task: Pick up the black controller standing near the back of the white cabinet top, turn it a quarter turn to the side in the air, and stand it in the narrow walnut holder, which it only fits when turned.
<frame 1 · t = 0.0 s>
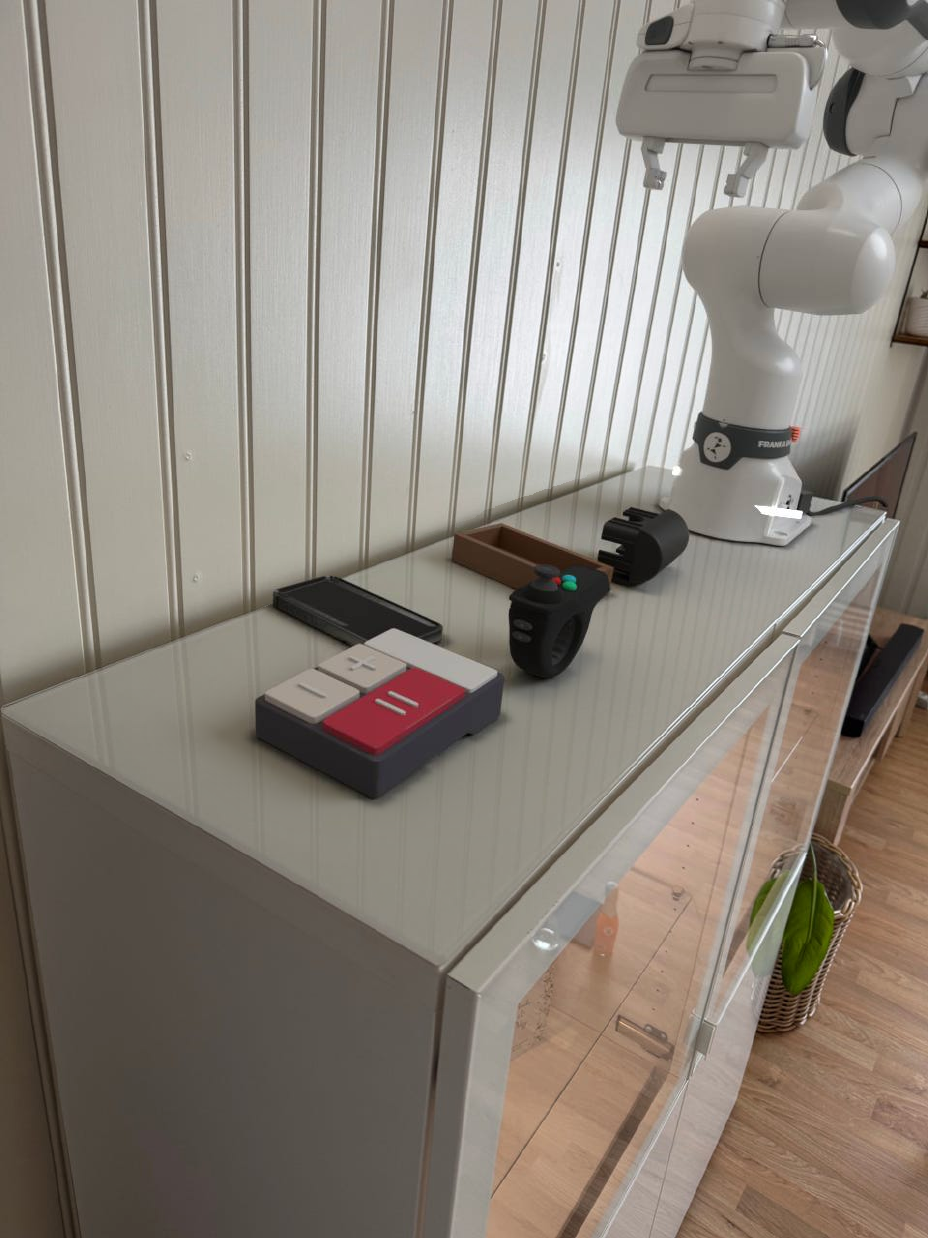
hand: (691, 192, 93), 39 cm above the table, tool pointing down, fingers open, 8 cm apart
calculator: (382, 729, 67), on the table
holder: (528, 577, 98), on the table
phone: (355, 622, 83), on the table
end cap: (638, 576, 103), on the table
controller: (548, 670, 79), on the table
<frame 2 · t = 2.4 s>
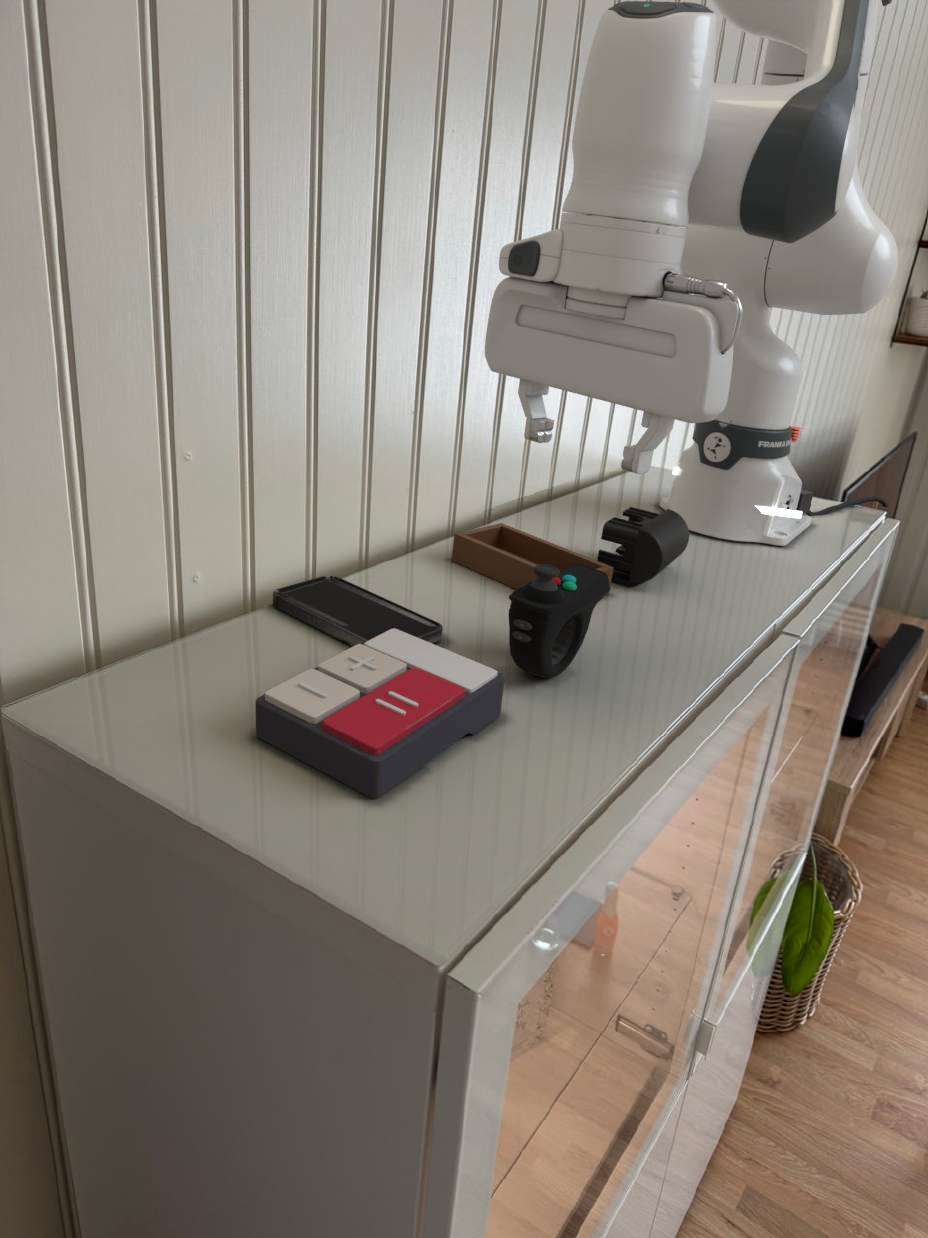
hand: (584, 455, 72), 19 cm above the table, tool pointing down, fingers open, 8 cm apart
nothing on the table moved.
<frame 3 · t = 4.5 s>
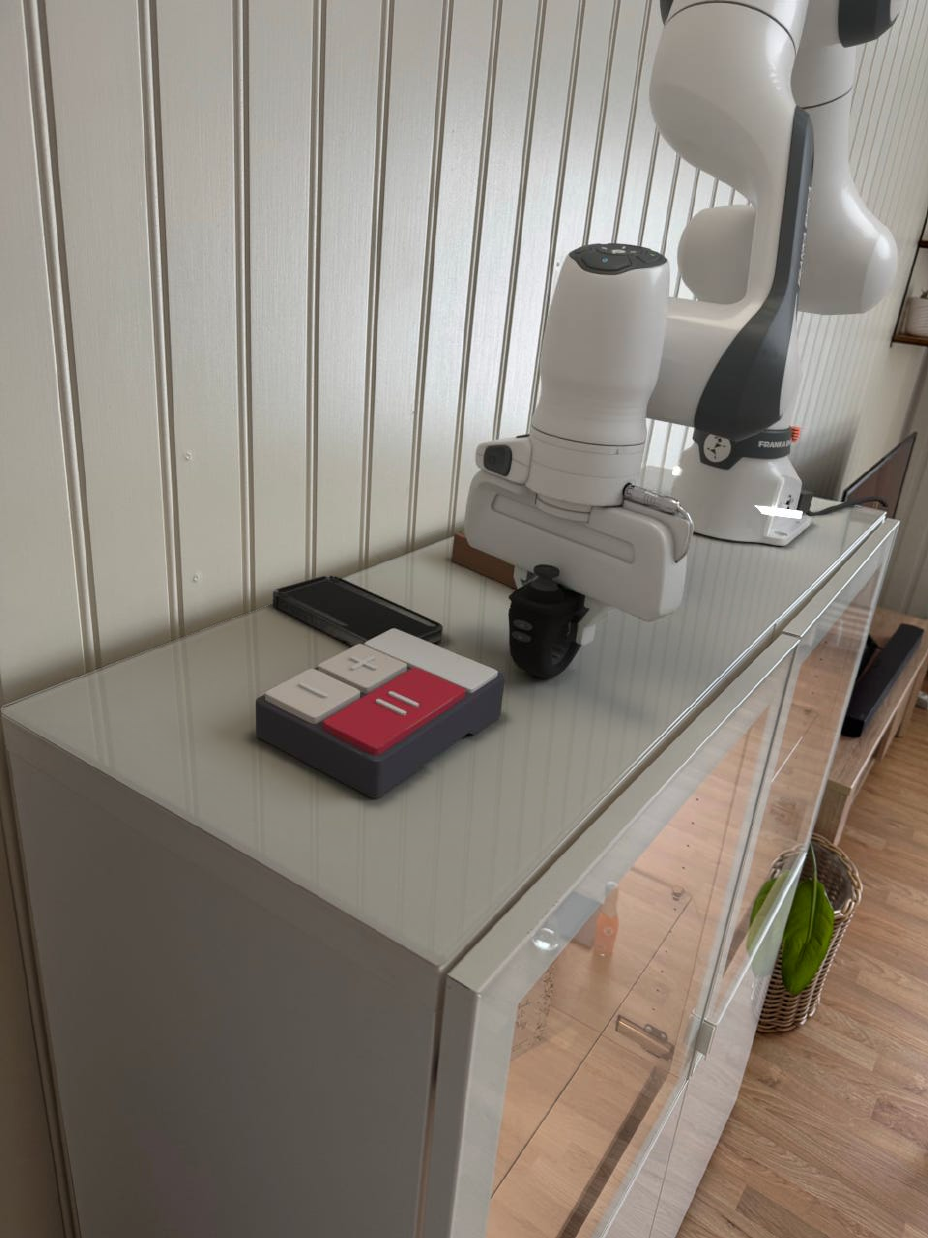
hand: (554, 629, 78), 4 cm above the table, tool pointing down, fingers closed on controller, 4 cm apart
controller: (548, 670, 79), on the table, touching gripper
everything else where it was.
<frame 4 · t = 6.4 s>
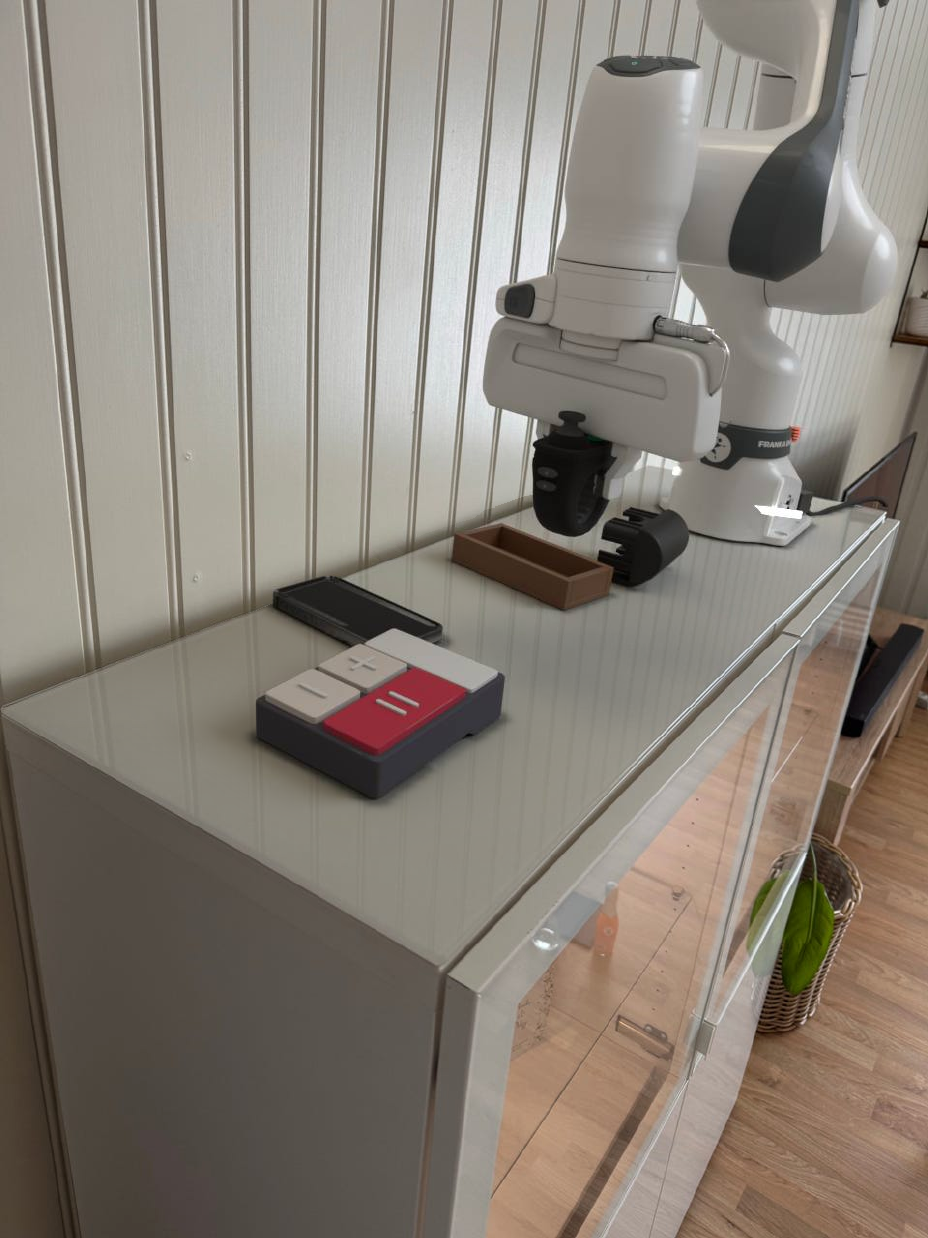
hand: (579, 487, 74), 16 cm above the table, tool pointing down, fingers closed on controller, 4 cm apart
controller: (572, 533, 76), point 12 cm above the table, touching gripper
everything else where it was.
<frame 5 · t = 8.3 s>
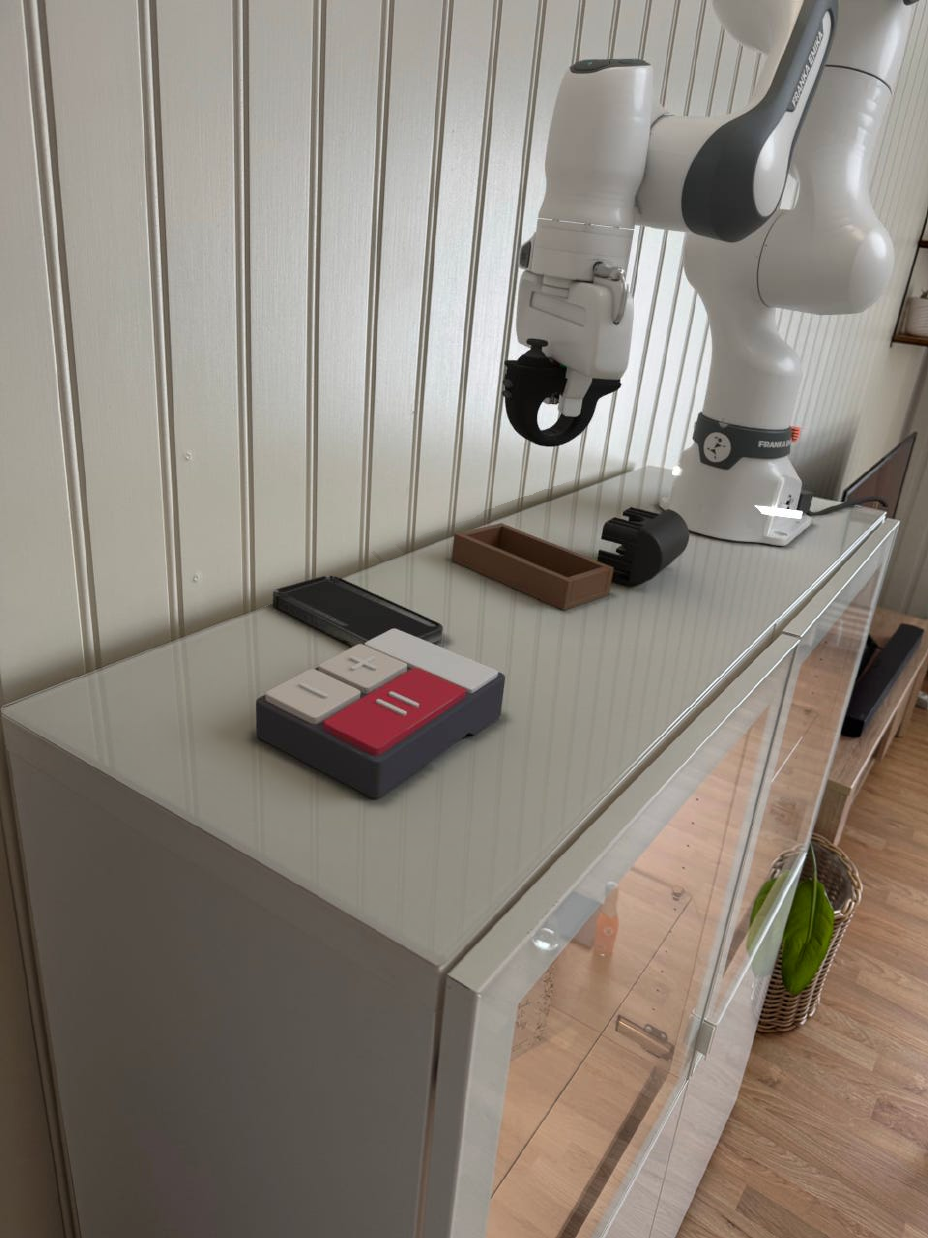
hand: (558, 408, 91), 18 cm above the table, tool pointing down, fingers closed on controller, 4 cm apart
controller: (552, 446, 93), point 14 cm above the table, touching gripper
everything else where it was.
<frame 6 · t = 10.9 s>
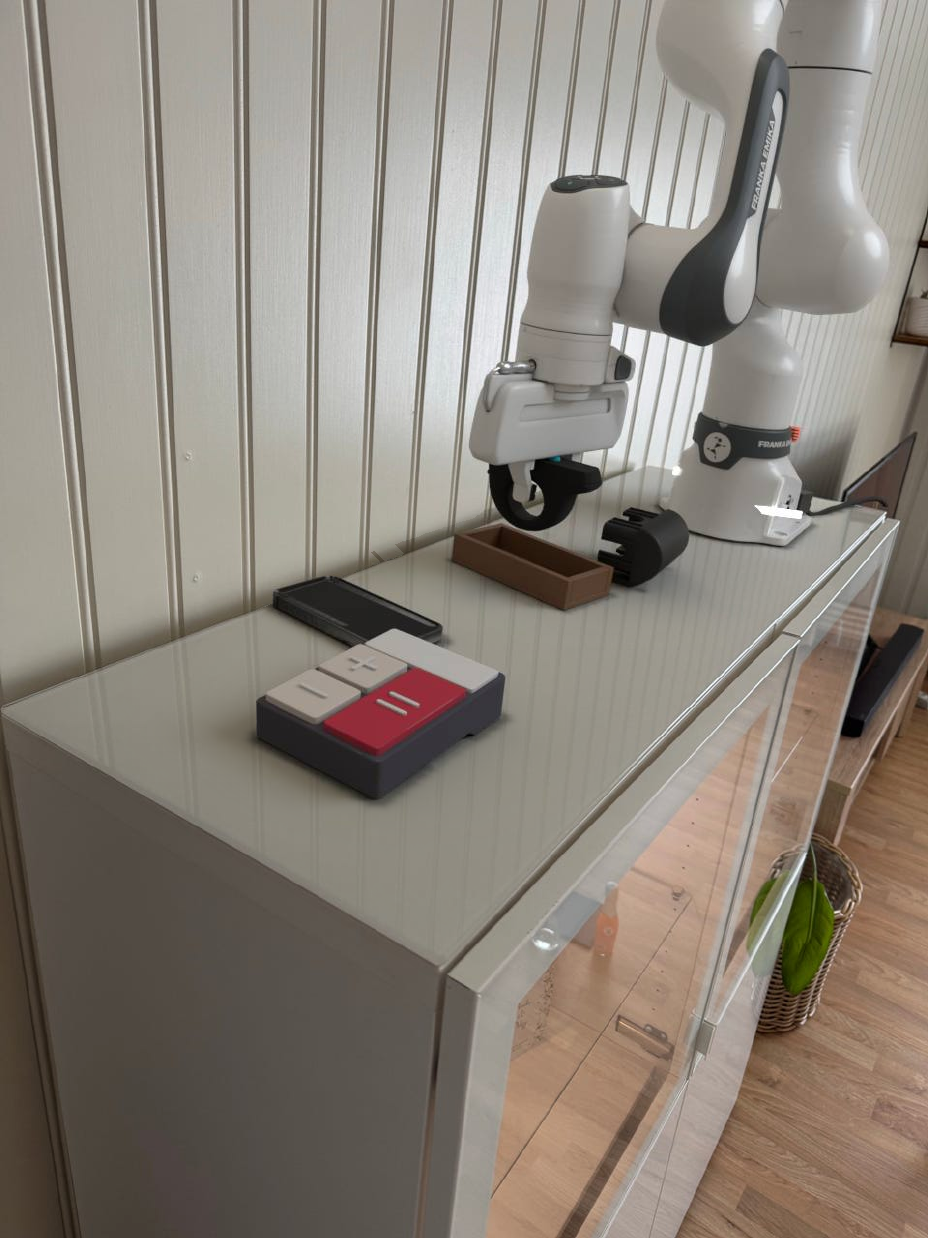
hand: (539, 497, 95), 9 cm above the table, tool pointing down, fingers closed on controller, 4 cm apart
controller: (533, 532, 96), point 5 cm above the table, touching gripper
everything else where it was.
when the fingers open (4 cm above the table, at t = 12.4 s): controller stays where it is, resting on holder.
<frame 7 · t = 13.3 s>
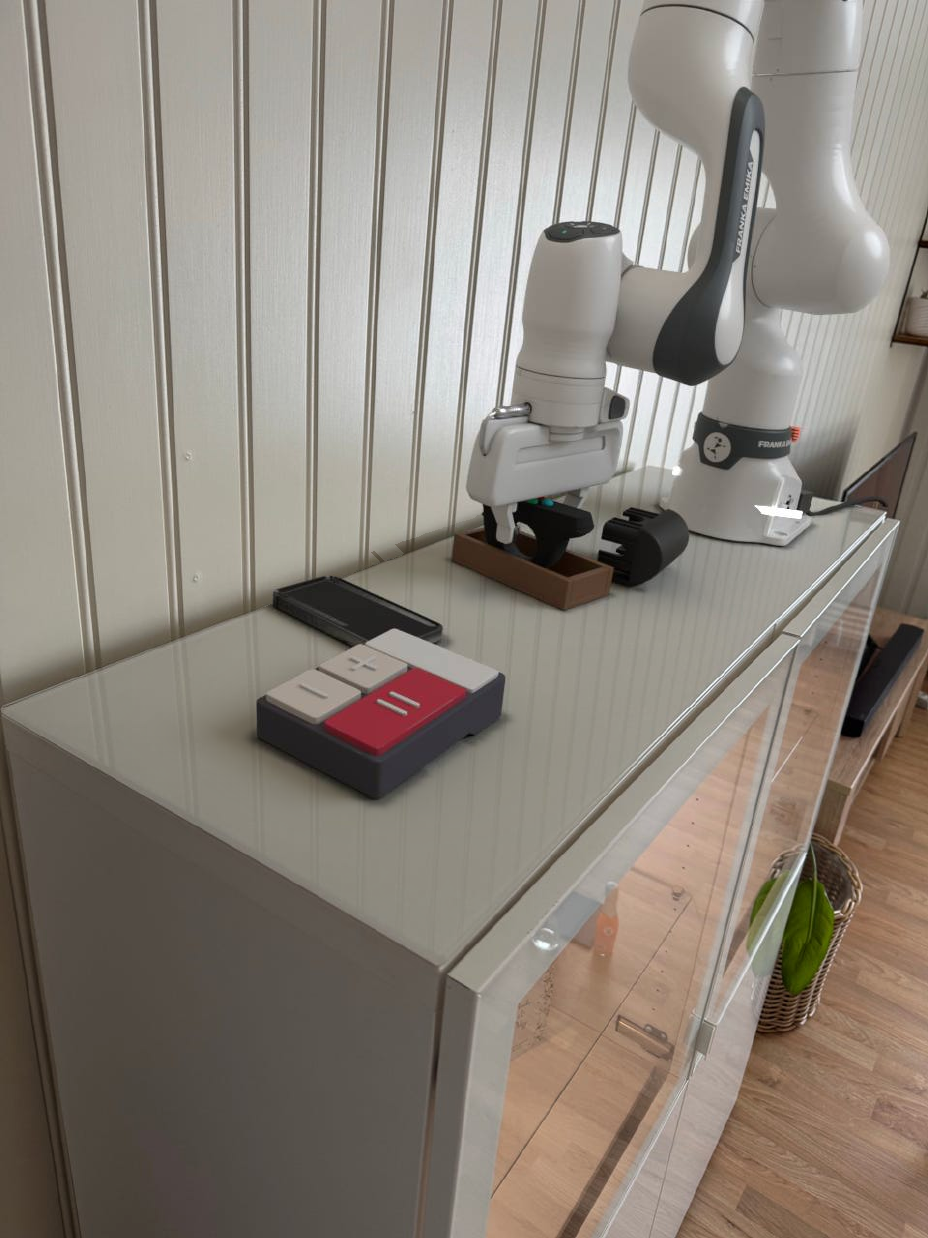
hand: (536, 533, 97), 5 cm above the table, tool pointing down, fingers open, 8 cm apart
controller: (527, 573, 98), resting on holder
everything else where it was.
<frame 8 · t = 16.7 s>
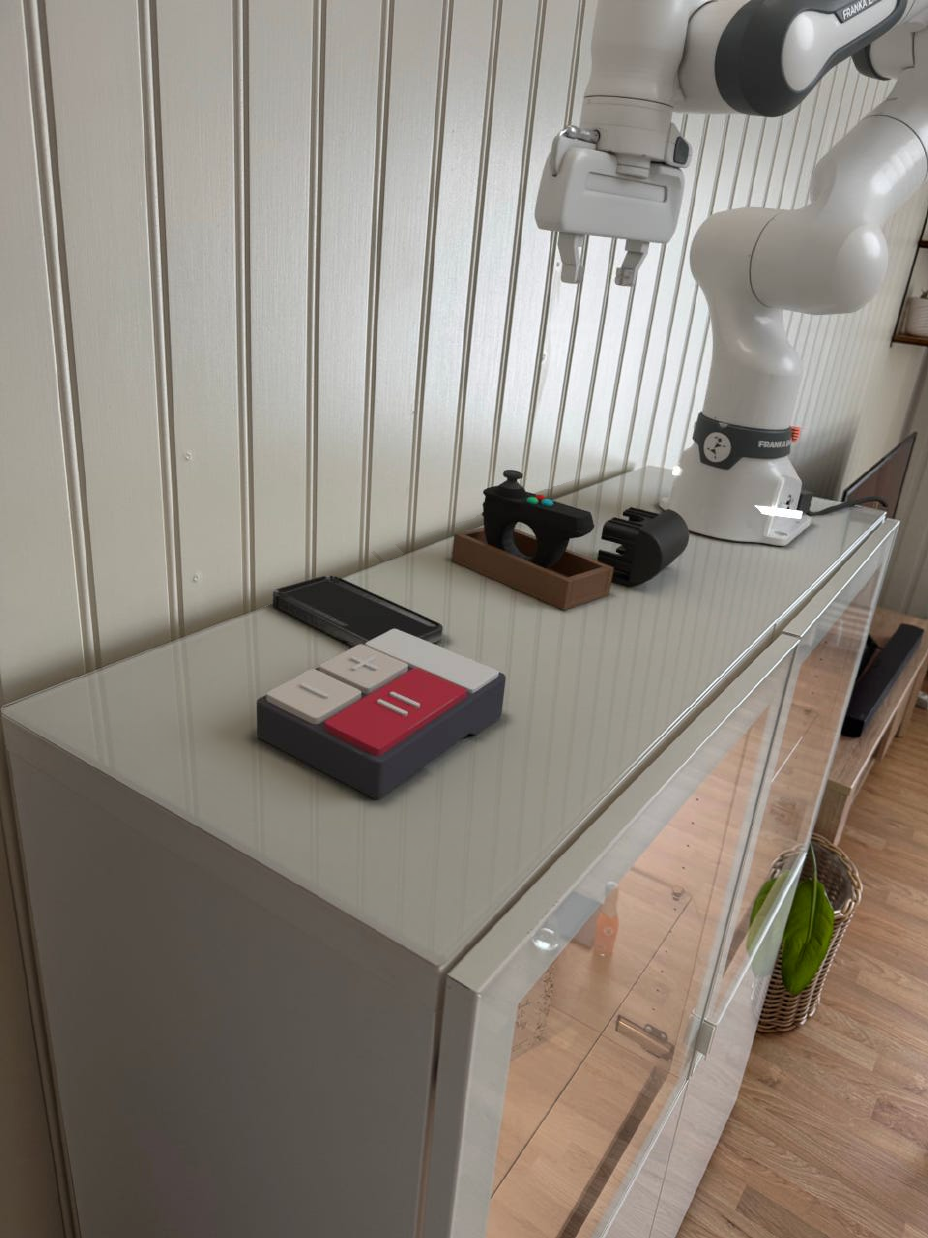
hand: (598, 284, 97), 29 cm above the table, tool pointing down, fingers open, 8 cm apart
nothing on the table moved.
at the end: controller 0.1 cm off-centre in the holder, point 0.4 cm above the holder's base; controller tilted 0° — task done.
